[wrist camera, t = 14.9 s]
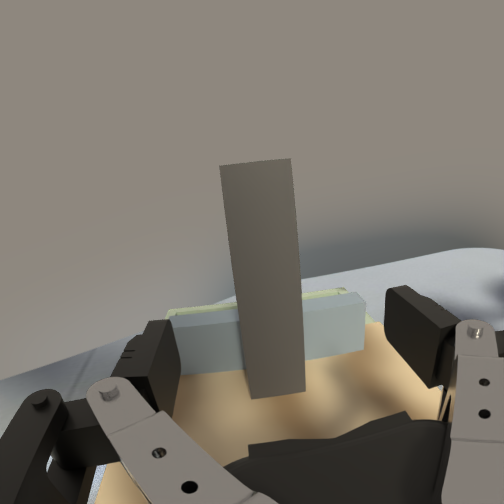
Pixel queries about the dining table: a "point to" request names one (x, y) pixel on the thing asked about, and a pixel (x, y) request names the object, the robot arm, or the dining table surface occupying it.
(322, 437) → the board
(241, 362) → the scraper
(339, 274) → the dining table surface
